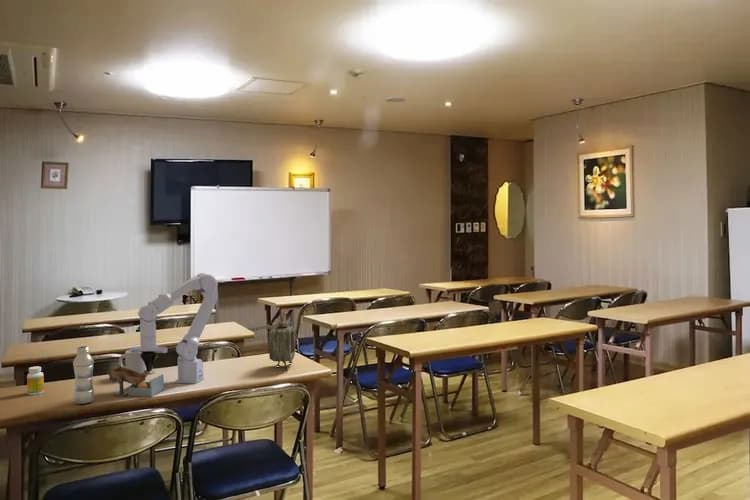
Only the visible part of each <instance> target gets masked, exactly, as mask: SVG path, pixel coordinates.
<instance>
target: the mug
mask: <svg viewBox="0 0 750 500" xmlns="http://www.w3.org/2000/svg"><path fill="white" fill-rule="evenodd" d="M140 354H142V352H132V353H131V352H130V349H128V350H126V351H124V353H123V354H121V355H120V356H119V358H118V367H120V366H121V367H124V368H127V369H130V370H133V371H136V372H139V373H144V371H145V370H147V369H146V366H145V363H144V361H143V359H142V358H141V356H140ZM123 359H125V361H124V362H125V366H124V365H123ZM147 377H149V374H148V375H146V378H147Z"/></svg>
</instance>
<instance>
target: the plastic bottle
mask: <svg viewBox="0 0 750 500" xmlns="http://www.w3.org/2000/svg"><path fill="white" fill-rule="evenodd" d="M89 347H90V346H87V345H85V346H84V345H83V346H77V347H76V353H77V355H76V356H75V357H74V359H73V361H72V366H73V371H74V378H75V379H74V380H75V383H74V392H73V401H74V402H75V404H79V405H80V404H82V405H84V404H85V405H86V404H89V403H93V402H94V399H95V395H96V394H95V393H96V392H95V389H94V383H93V382H94V381H93V372H94V363H95V362H94V361H95V360H94V358H93V357H92V355H91V354H90V350H89Z"/></svg>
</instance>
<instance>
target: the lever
mask: <svg viewBox="0 0 750 500" xmlns="http://www.w3.org/2000/svg"><path fill="white" fill-rule="evenodd" d="M124 367H125V366H124ZM124 367H121V366H120V367H119V366H118V367H115V368H113V369H111V370H109V373H108V377H109V378H108V381H110V382H112V383H114V382H116V381H117V380H118V379H119V378H123V382H125V383H128V384H131V385H132V384H134V385H137V384H139V383H140V382H146V379H147V377H146V375H148V376H149V375H150V376H151V375H153V374H156V370H153V369H152V370H151V371H147V370H145V371H144V373H139V372H136V371H133V370H130V369H127V368H124ZM117 382H118V381H117Z"/></svg>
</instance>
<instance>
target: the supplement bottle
mask: <svg viewBox="0 0 750 500" xmlns="http://www.w3.org/2000/svg"><path fill="white" fill-rule="evenodd" d="M41 371H42V367H41V366H38V365H37V366H31V367H28V372H29V373H27V375H26V383H27V384H26V385H27V386H26V387H27V388H26V390H27V395H29V396H30V395H31V396H35V395H40V394H43V393H44V392H45V381H44V380H45V378H44V372H41Z"/></svg>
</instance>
